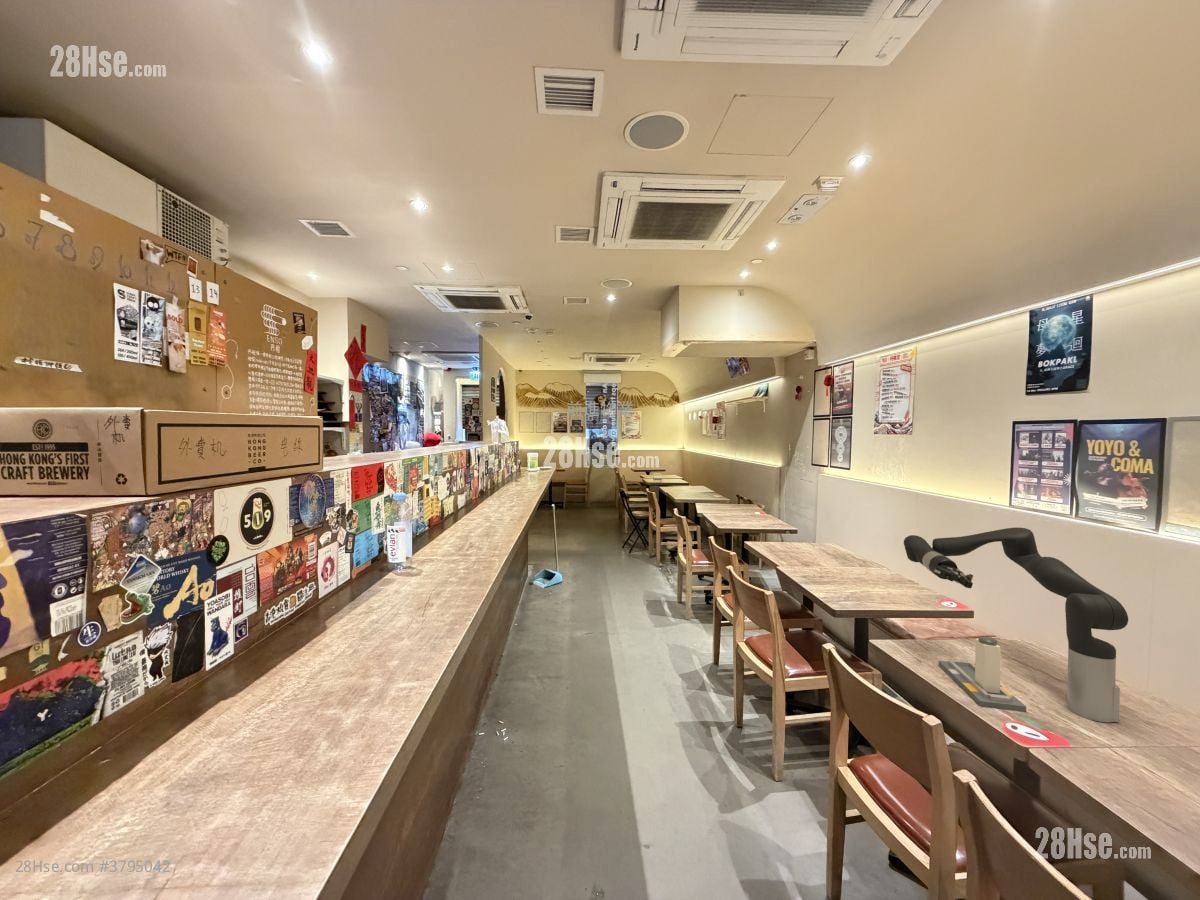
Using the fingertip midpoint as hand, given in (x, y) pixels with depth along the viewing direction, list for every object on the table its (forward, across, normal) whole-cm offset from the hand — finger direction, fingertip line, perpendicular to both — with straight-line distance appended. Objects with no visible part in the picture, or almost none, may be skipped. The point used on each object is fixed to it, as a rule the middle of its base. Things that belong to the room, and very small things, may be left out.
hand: (969, 585), depth 155 cm
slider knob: (+19, -1, -24) cm, 31 cm away
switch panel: (+14, -2, -27) cm, 30 cm away
